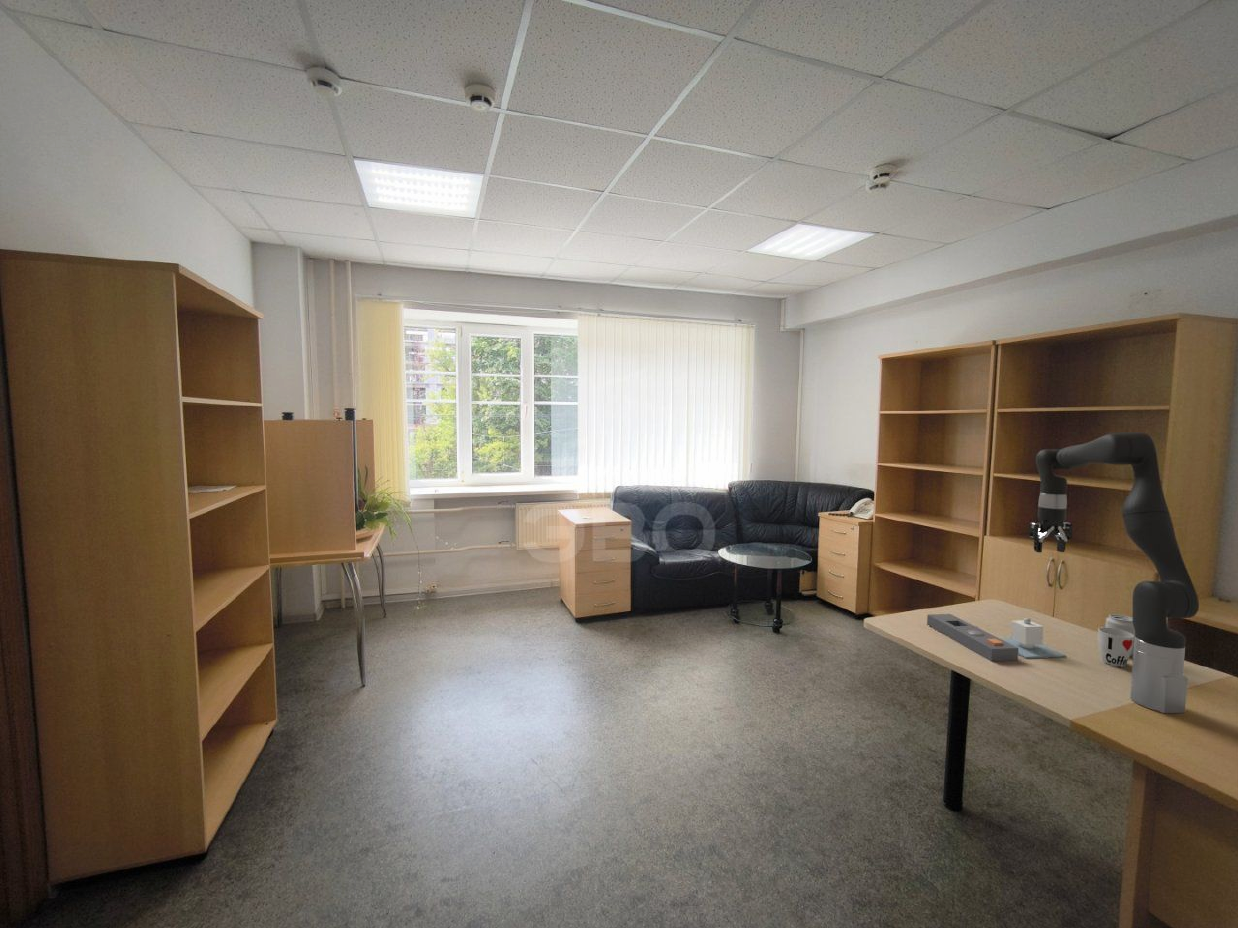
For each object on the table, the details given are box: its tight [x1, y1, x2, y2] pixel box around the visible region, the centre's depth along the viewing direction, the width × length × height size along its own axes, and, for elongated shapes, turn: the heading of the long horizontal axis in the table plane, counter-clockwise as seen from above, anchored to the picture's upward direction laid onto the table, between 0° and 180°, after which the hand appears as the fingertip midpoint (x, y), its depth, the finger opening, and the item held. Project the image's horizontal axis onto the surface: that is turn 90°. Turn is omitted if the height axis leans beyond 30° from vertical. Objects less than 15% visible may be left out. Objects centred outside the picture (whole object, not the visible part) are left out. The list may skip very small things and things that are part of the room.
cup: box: [1097, 626, 1134, 668], centre depth 160 cm, size 8×8×10 cm
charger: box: [1010, 617, 1044, 649], centre depth 171 cm, size 6×6×10 cm
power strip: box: [926, 613, 1019, 662], centre depth 177 cm, size 30×9×5 cm, turn 4°
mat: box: [999, 637, 1067, 659], centre depth 171 cm, size 14×14×1 cm
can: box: [1104, 613, 1135, 657], centre depth 168 cm, size 8×8×12 cm
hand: (1049, 551), depth 180 cm, fingers open, 8 cm apart
